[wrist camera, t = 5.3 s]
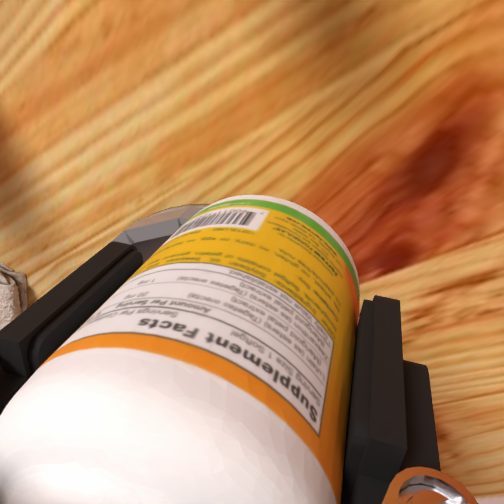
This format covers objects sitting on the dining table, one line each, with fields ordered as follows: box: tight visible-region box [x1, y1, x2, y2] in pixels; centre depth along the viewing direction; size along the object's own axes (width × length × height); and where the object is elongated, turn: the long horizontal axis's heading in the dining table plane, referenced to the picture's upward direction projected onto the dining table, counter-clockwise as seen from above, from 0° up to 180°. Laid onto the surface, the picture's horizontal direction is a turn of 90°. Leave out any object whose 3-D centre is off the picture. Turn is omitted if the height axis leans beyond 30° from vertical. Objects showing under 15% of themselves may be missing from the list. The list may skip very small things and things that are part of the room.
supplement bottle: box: [0, 195, 360, 504], centre depth 8 cm, size 5×5×10 cm
